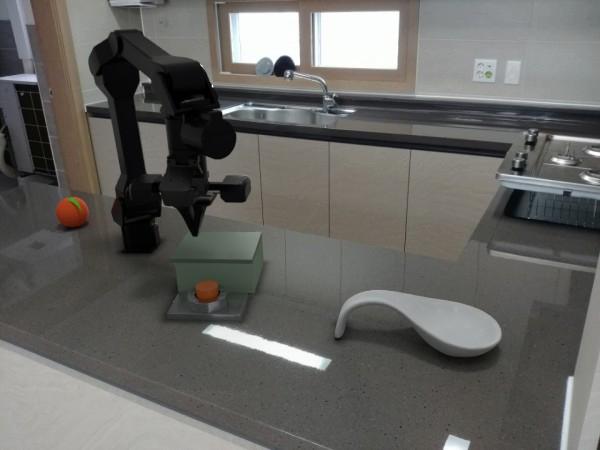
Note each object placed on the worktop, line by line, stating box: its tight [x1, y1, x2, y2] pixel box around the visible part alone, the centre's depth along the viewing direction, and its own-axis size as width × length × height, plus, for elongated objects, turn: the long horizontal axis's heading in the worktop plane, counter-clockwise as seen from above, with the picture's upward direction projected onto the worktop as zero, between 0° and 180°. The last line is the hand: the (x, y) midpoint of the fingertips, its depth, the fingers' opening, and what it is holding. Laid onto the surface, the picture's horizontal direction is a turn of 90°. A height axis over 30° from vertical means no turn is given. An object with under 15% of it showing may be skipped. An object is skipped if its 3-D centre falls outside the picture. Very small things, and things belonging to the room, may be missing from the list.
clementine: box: [55, 196, 90, 228], centre depth 122 cm, size 8×7×7 cm
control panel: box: [166, 284, 249, 322], centre depth 89 cm, size 12×7×3 cm, turn 85°
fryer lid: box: [169, 230, 263, 264], centre depth 97 cm, size 14×12×1 cm
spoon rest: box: [334, 289, 503, 358], centre depth 78 cm, size 24×12×7 cm, turn 78°
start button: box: [196, 280, 219, 300], centre depth 88 cm, size 4×4×2 cm
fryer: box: [174, 236, 264, 294], centre depth 98 cm, size 14×12×6 cm
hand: (195, 235), depth 90 cm, fingers closed
